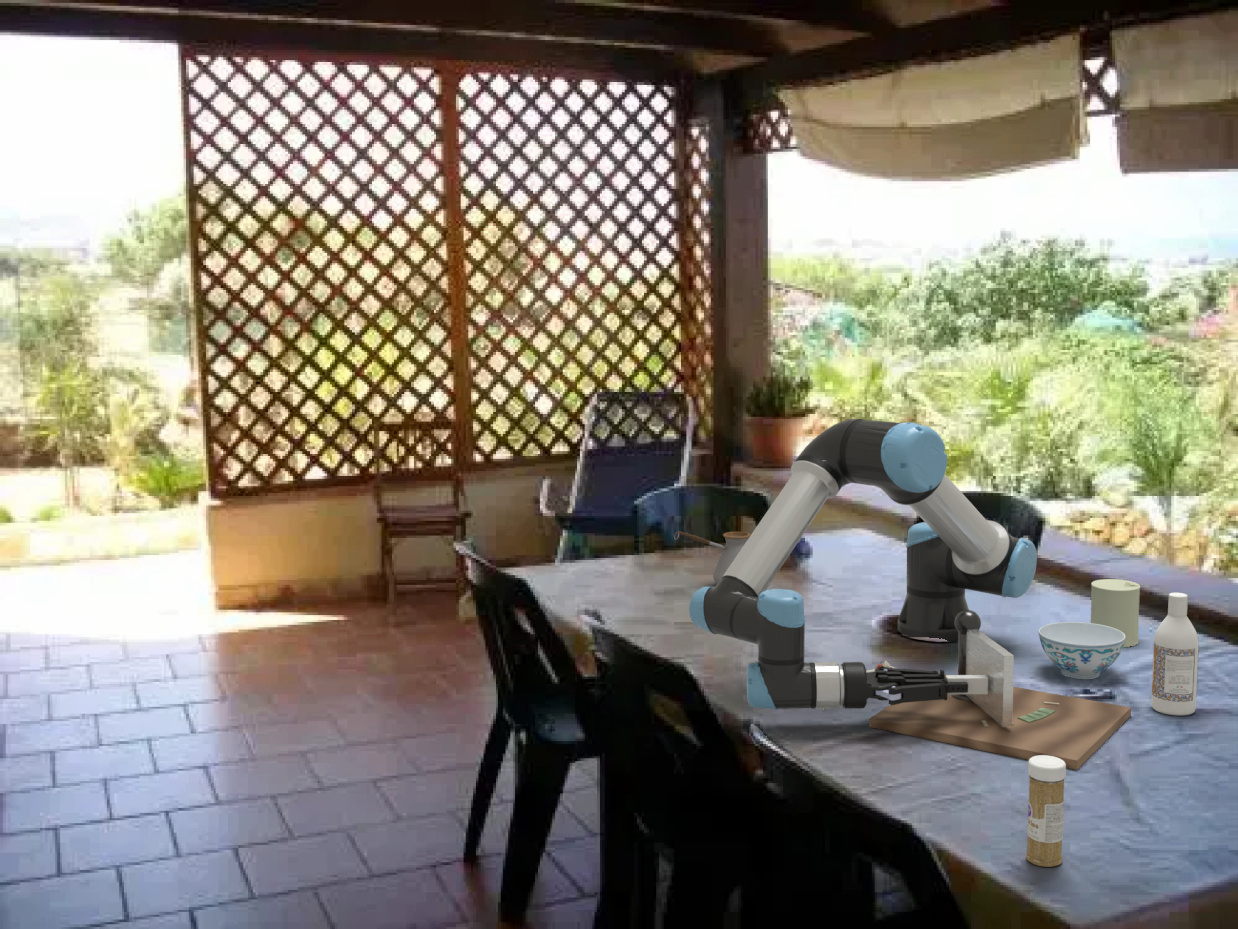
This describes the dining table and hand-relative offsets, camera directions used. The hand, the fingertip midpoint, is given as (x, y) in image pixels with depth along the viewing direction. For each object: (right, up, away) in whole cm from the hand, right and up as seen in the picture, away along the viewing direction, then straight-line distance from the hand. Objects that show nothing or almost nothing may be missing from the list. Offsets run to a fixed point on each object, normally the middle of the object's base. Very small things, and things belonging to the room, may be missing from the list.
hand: (986, 684), depth 215 cm
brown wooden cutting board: (+4, -7, +4) cm, 9 cm away
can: (+38, +1, +47) cm, 61 cm away
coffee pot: (-37, +6, +95) cm, 102 cm away
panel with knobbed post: (+1, -4, +5) cm, 7 cm away
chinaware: (+25, -3, +27) cm, 37 cm away
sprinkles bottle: (-5, -15, -46) cm, 49 cm away
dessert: (-12, -5, +25) cm, 28 cm away
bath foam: (+34, -6, +7) cm, 35 cm away
